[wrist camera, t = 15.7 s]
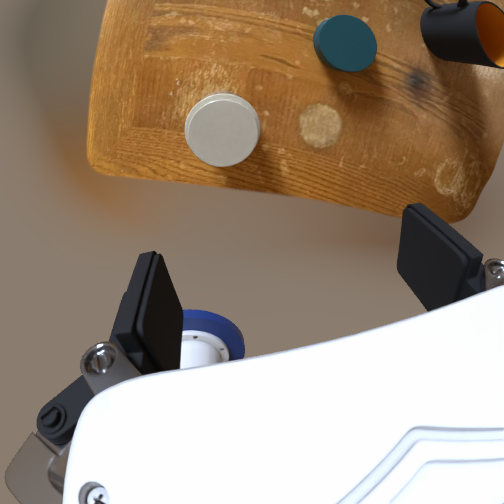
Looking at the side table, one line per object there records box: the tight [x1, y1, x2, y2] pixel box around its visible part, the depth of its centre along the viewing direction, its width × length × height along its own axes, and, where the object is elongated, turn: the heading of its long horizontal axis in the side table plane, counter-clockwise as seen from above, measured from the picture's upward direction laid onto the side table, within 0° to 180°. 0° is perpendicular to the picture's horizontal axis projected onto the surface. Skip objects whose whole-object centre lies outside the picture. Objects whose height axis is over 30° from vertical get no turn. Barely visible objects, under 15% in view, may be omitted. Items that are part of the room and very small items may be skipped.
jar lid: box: [313, 15, 377, 72], centre depth 26 cm, size 7×7×2 cm
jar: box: [185, 90, 260, 167], centre depth 26 cm, size 6×6×10 cm
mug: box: [420, 0, 504, 69], centre depth 20 cm, size 8×12×10 cm
